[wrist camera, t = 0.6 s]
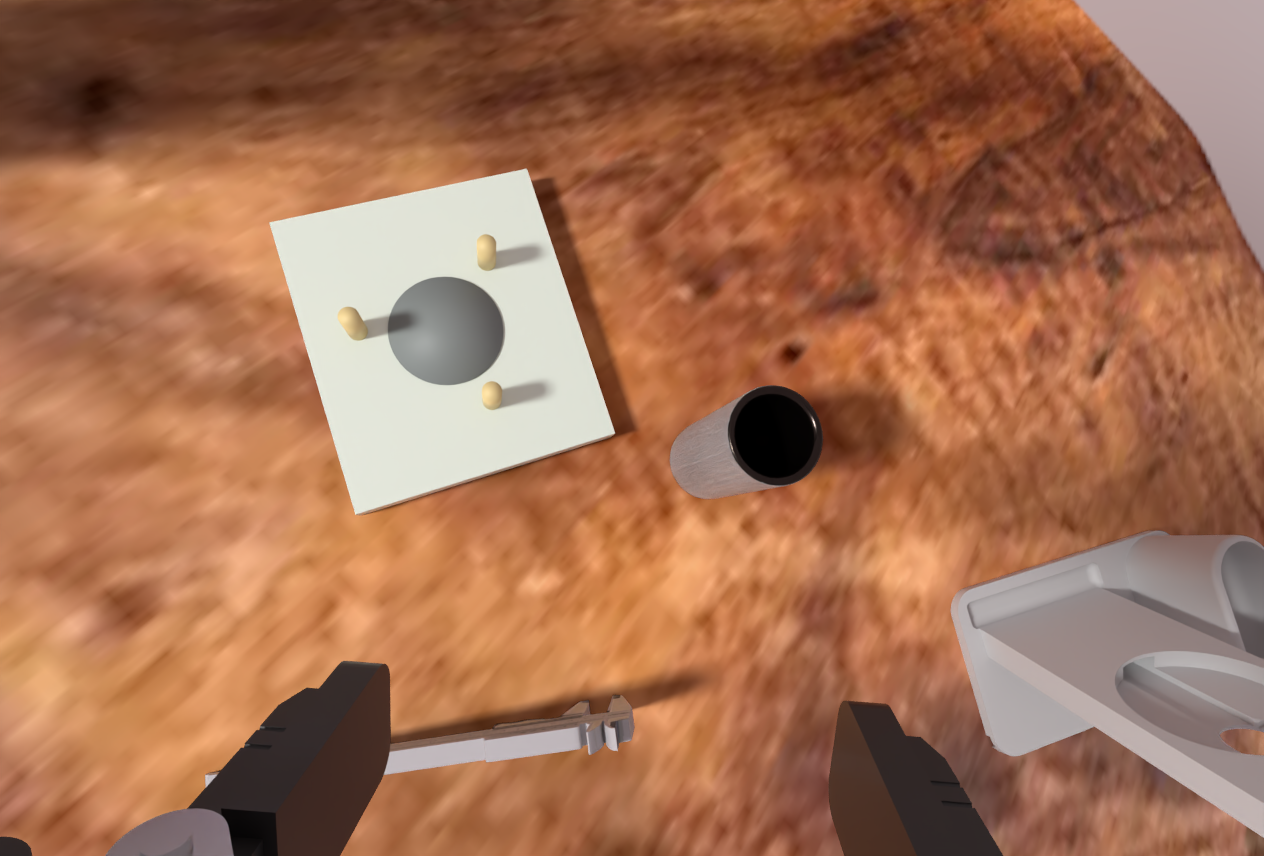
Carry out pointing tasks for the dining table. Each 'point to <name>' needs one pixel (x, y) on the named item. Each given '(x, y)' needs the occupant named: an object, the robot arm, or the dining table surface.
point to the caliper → (516, 739)
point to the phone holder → (1130, 656)
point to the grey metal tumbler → (749, 445)
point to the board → (440, 337)
